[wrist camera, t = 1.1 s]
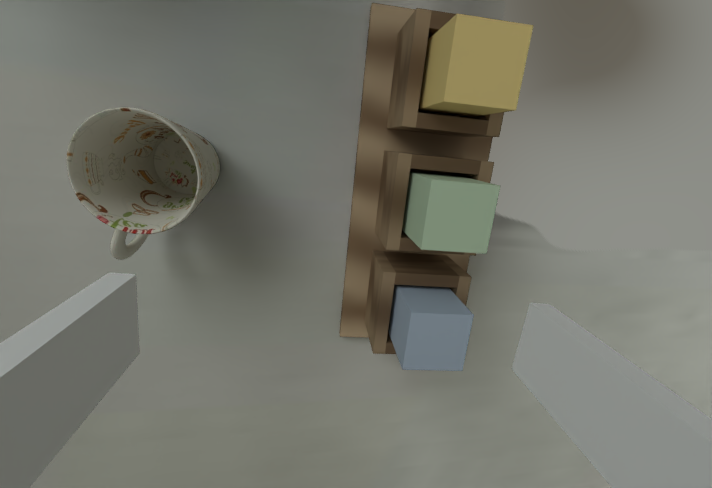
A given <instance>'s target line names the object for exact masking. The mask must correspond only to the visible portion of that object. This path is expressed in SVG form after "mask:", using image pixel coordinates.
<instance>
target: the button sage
mask: <svg viewBox="0 0 712 488" xmlns="http://www.w3.org/2000/svg"><path fill="white" fill-rule="evenodd" d="M499 190H500V186H499V185H495V184H490V183H487V182H483V181H479V180H475V179H471V178H467V177H462V176H453V175H443V174H432V173H422V172H411V171H410V173H409V181H408V188H407V195H406V203H405V210H404V217H403V225H402V230H403V231H404V232H405V233H406V234H407V236H408V237H409V238H410V239H411V240H412V241H413V242H414V243H415V244H416V245H417V246H418V247H419V248H420V249H421V250H436V251H451V252H467V253H482V254H486V253H487V249H488V244H489V239H490V234H491V229H492V224H493V219H494V215H495V209H496V205H497V200H498V195H499Z"/></svg>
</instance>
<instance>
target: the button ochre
mask: <svg viewBox="0 0 712 488" xmlns="http://www.w3.org/2000/svg"><path fill="white" fill-rule="evenodd" d="M532 30H533V25H527V24H521V23H514V22H508V21H502V20H495V19H489V18H483V17H476V16H470V15H463V14H456V15H455V16H454V17H453V18H452V19H451V20H449V21H448V22H447V23H446V24H445V25H444V26H443V27H442V28H441V29H439V30H438V31H437V32H436V33H435V34H434V35H433V36H432V37H431V38H429V39H428V41H427V49H426V56H425V63H424V71H423V78H422V85H421V93H420V100H419V107H418V111H426V112H435V113H443V114H452V115H460V116H469V117H474V116H481V115H488V114H494V113H501V112H507V111H514V110H516V108H517V103H518V98H519V93H520V88H521V83H522V78H523V74H524V69H525V64H526V59H527V54H528V49H529V45H530V39H531V35H532Z"/></svg>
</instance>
